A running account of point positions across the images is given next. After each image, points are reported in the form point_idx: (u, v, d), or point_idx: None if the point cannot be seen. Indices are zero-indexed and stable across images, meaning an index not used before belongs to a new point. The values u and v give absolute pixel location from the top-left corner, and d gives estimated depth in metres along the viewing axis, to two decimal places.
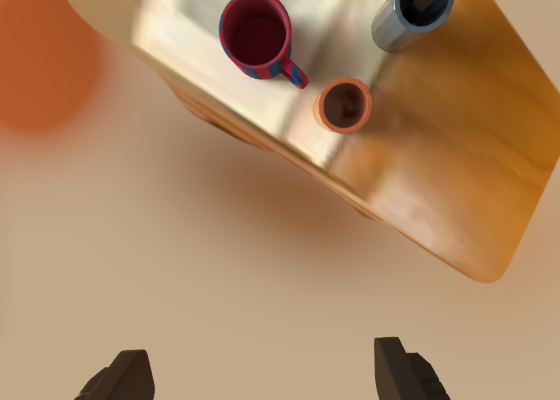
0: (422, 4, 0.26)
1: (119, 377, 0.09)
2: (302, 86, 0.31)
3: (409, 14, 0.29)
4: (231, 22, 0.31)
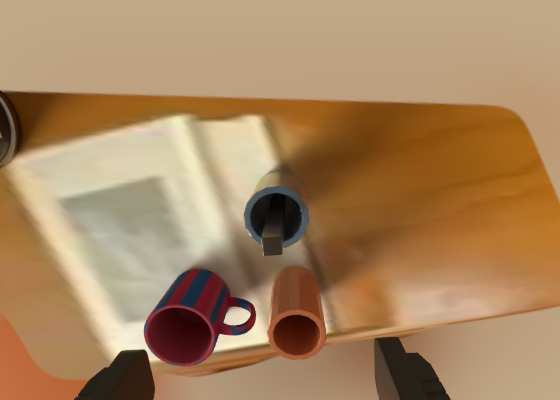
0: None
1: (119, 377, 0.09)
2: (252, 326, 0.30)
3: None
4: (160, 327, 0.31)
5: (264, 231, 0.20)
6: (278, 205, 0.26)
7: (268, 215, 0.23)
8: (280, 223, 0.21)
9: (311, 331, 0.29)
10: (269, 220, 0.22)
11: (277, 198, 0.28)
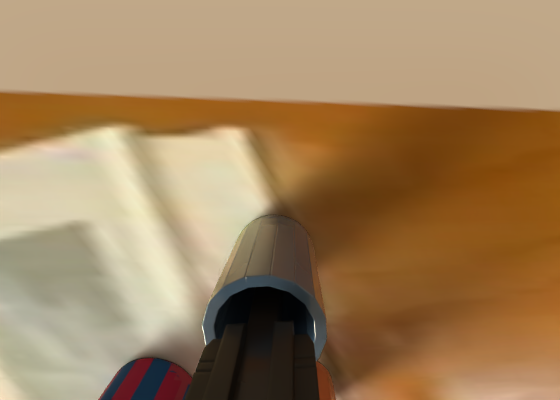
0: None
1: (237, 345, 0.10)
2: None
3: None
4: None
5: None
6: (269, 295, 0.14)
7: (247, 337, 0.11)
8: None
9: None
10: (248, 361, 0.10)
11: None
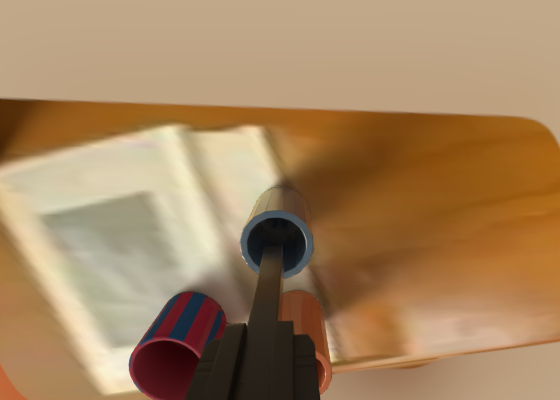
0: None
1: (236, 345, 0.10)
2: None
3: None
4: (149, 358, 0.28)
5: None
6: (269, 295, 0.14)
7: (247, 337, 0.11)
8: None
9: None
10: (248, 361, 0.10)
11: (269, 271, 0.16)
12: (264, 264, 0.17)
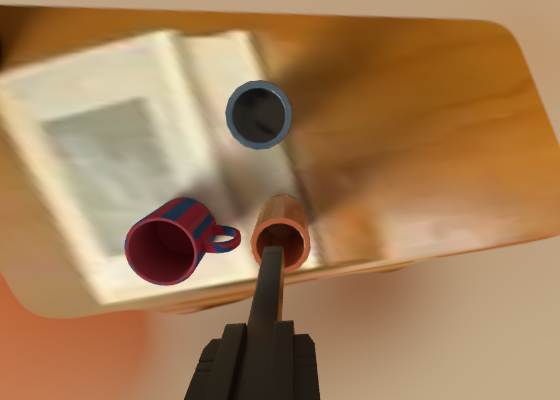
0: None
1: (236, 345, 0.10)
2: (237, 246, 0.29)
3: None
4: (143, 249, 0.30)
5: None
6: (269, 295, 0.14)
7: (247, 337, 0.11)
8: None
9: (296, 250, 0.29)
10: (248, 361, 0.10)
11: (269, 271, 0.16)
12: (264, 264, 0.17)
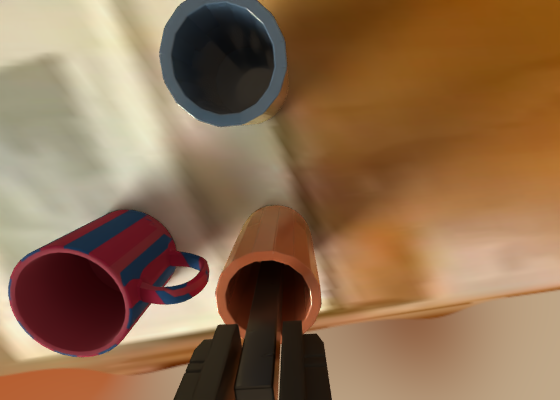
0: None
1: (227, 346, 0.10)
2: (200, 290, 0.18)
3: None
4: (53, 293, 0.19)
5: (242, 359, 0.10)
6: (272, 271, 0.16)
7: (254, 301, 0.14)
8: (274, 331, 0.12)
9: (297, 298, 0.17)
10: (256, 317, 0.12)
11: None
12: None
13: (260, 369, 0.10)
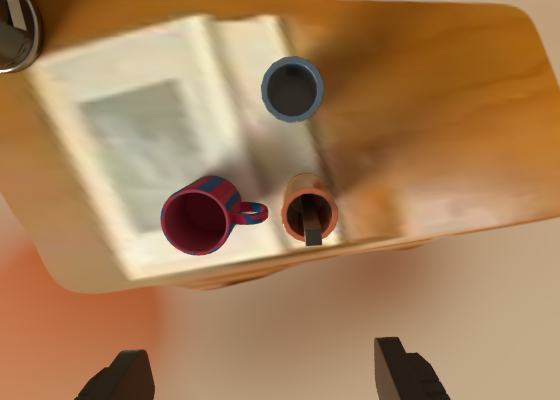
0: None
1: (119, 377, 0.09)
2: (265, 219, 0.31)
3: None
4: (175, 222, 0.32)
5: (305, 225, 0.23)
6: (309, 203, 0.29)
7: (304, 212, 0.26)
8: (317, 219, 0.24)
9: (322, 222, 0.30)
10: (306, 216, 0.25)
11: (307, 198, 0.31)
12: (303, 196, 0.32)
13: (314, 226, 0.22)
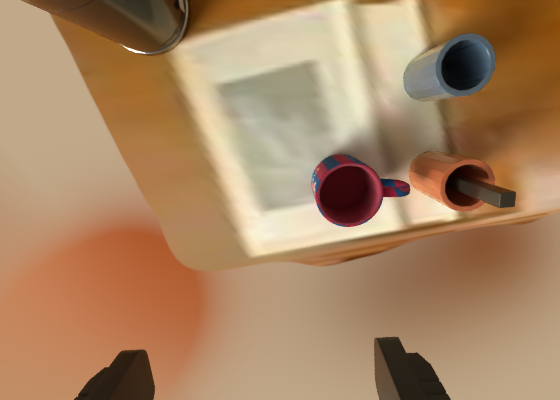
0: None
1: (119, 377, 0.09)
2: (409, 192, 0.32)
3: None
4: None
5: (492, 189, 0.25)
6: (459, 176, 0.31)
7: (468, 181, 0.28)
8: (494, 185, 0.26)
9: (466, 194, 0.32)
10: (478, 184, 0.27)
11: None
12: None
13: (504, 190, 0.24)
